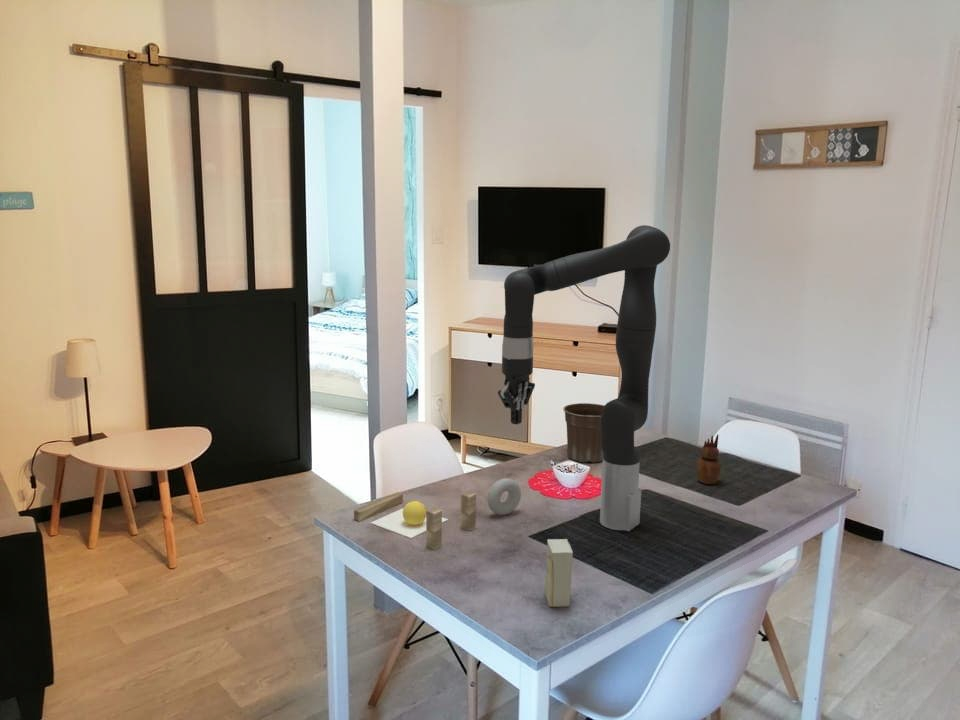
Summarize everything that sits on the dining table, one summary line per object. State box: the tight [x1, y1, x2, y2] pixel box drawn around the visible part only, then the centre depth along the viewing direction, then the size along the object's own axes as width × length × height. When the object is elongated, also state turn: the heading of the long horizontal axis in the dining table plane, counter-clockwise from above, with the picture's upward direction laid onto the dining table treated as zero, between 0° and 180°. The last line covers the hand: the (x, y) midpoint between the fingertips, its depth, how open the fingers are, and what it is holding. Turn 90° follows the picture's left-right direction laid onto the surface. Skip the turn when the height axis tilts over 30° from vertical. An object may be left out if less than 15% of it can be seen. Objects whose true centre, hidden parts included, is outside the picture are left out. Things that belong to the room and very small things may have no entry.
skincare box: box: [544, 538, 574, 608], centre depth 154 cm, size 6×4×12 cm
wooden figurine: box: [695, 434, 722, 485], centre depth 220 cm, size 7×6×15 cm
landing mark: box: [370, 507, 449, 539], centre depth 192 cm, size 14×14×1 cm
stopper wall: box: [353, 492, 404, 523], centre depth 198 cm, size 2×16×2 cm, turn 142°
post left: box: [425, 507, 443, 550], centre depth 178 cm, size 3×3×9 cm
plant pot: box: [563, 402, 606, 464], centre depth 241 cm, size 16×16×16 cm
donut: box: [486, 477, 522, 516], centre depth 196 cm, size 10×4×10 cm, turn 122°
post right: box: [460, 491, 477, 532], centre depth 188 cm, size 3×3×9 cm
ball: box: [403, 500, 427, 525], centre depth 190 cm, size 6×6×6 cm
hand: (516, 423), depth 185 cm, fingers closed
